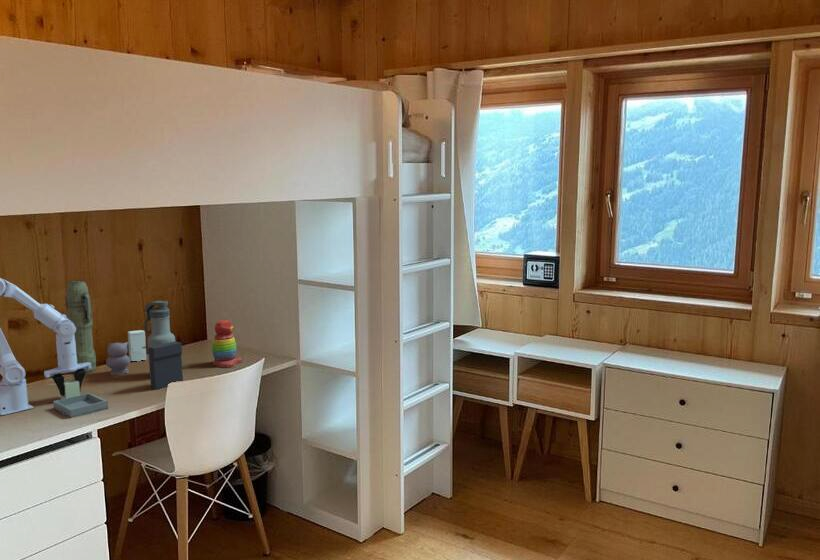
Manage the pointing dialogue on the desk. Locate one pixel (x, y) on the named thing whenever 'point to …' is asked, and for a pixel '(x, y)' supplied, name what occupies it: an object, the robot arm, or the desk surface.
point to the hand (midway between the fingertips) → (70, 393)
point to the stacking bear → (224, 345)
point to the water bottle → (158, 324)
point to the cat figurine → (118, 358)
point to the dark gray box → (165, 364)
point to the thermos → (81, 321)
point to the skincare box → (137, 345)
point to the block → (71, 388)
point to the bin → (80, 405)
